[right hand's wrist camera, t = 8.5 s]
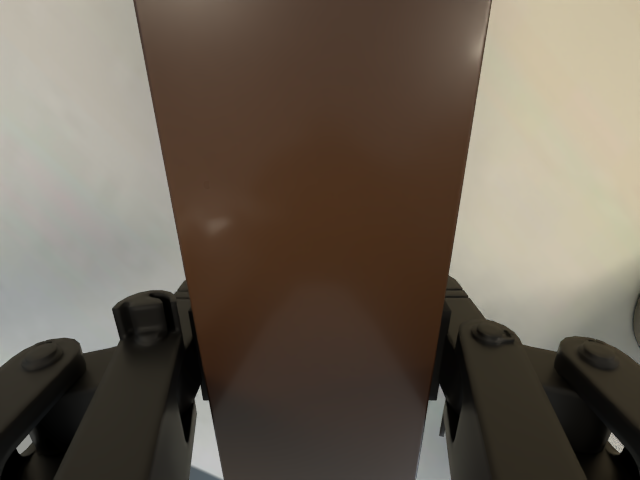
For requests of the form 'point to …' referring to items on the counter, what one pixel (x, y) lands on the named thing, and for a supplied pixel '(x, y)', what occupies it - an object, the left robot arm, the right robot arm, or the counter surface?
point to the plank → (315, 215)
